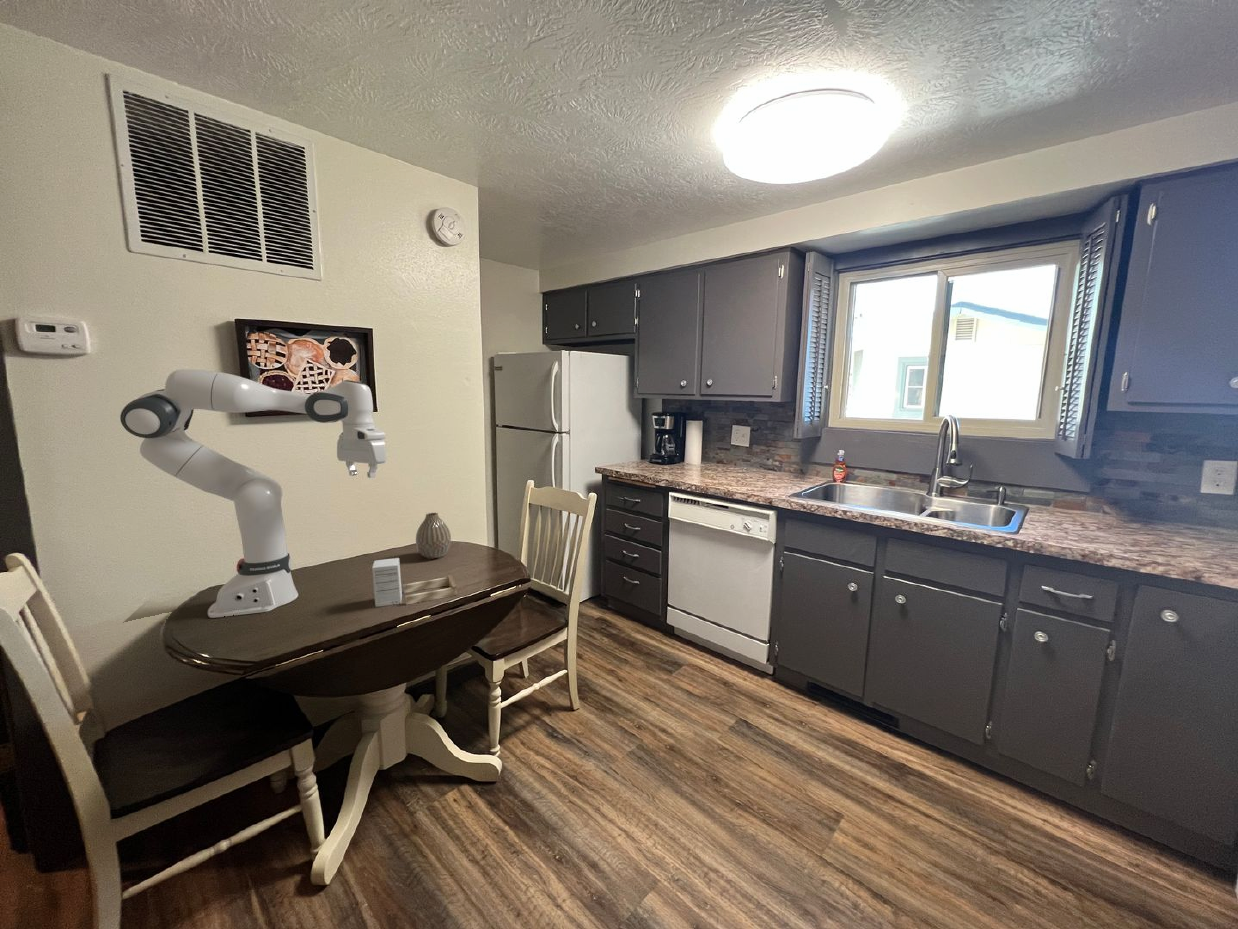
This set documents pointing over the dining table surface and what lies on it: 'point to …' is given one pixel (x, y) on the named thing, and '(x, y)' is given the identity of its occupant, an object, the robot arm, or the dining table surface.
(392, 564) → the supplement box
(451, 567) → the dining table surface
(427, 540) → the vase
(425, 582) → the u rest
